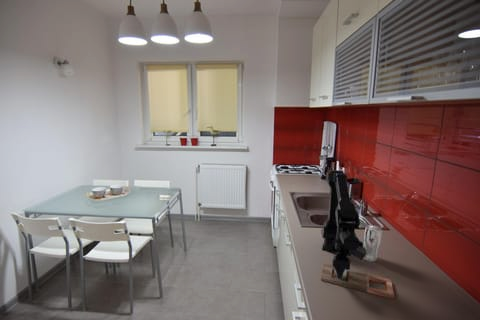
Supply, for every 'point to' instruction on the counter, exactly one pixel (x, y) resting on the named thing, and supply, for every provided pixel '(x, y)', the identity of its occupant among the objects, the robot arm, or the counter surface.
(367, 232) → the beer glass
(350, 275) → the brown flat frame piece
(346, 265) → the robot arm
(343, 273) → the square peg
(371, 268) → the counter surface
